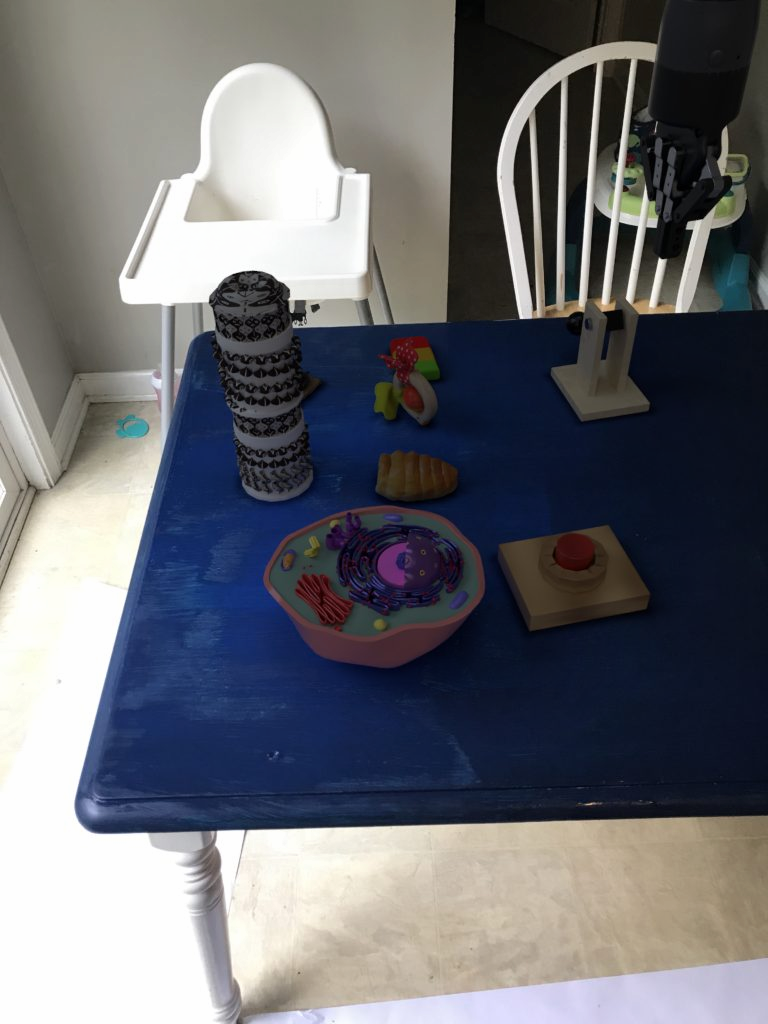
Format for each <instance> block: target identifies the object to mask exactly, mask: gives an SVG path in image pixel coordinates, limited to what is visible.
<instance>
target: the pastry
mask: <svg viewBox="0 0 768 1024" xmlns="http://www.w3.org/2000/svg"><path fill="white" fill-rule="evenodd" d="M377 466H378V467H377V468H378V469H377V470H378V471H377V481H376V485H375V490H374V491H375V492H376V493H377V494H378V495H380V496H382V497H384V498H385V499H387V500H389V501H393V502H396V501H402V502H406V503H407V502H408V503H409V502H416V501H426V500H435V499H440V498H442V497H445V496H446V495H449V494H452V493H453V492H454V491H455V490H456V489H457V488H458V482H459V481H458V475H459V474H458V473H459V470H458V469H457V468H456V467H454V466H453V465H452V464H450V463H448V462H447V461H443V459H441V458H439V457H431V456H430V455H429V454H428V453H426V454H421V453H418V452H416V451H414V450H410V451H408V452H404V451H403V450H400V449H396V450H395V451H393V452H392V453H391V454H389V453H386V452H382V453H381V454H380V456H379V459H378V465H377Z"/></svg>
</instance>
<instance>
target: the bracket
mask: <svg viewBox="0 0 768 1024" xmlns="http://www.w3.org/2000/svg"><path fill="white" fill-rule="evenodd" d="M619 309H622V311H623V325H624V329H622V330H615V331H610V332H609V333H610V334H609V340H608V345H607V352H606V356H605V359H602V354H603V347H604V341H605V336H606V335H605V334H606V332H605V330H606V323H607V317H606V316H605V315H604V313H603V311H602V310H601V309H600V307H599V306H598V305H597V304H596V302H595V301H594V300H591V301H590V300H589V301H585V304H584V311H583V312H584V318H583V325H582V332H581V335H580V339H579V347H578V355H577V362H576V363H574V364H567V365H561V366H554V367H551V370H550V377H551V378H552V380H553V381H554V382H555V384H556V385H557V387H558V388H559V390H560V391H561V393H562V394H563V396H564V398H565V399H566V400H567V402H568V404H569V405H570V406H571V408H572V410H573V412H575V414H576V415H577V417H578V418H579V420H580V422H588V421H594V420H601V419H607V418H613V417H618V416H625V415H633V414H639V413H644V412H649V410H650V407H651V406H650V405H651V403H650V401H649V400H648V399H647V397H646V396H645V395H644V394H643V392H642V391H641V390H640V389H639V387H638V386H637V384H635V382H634V381H633V379H632V378H631V377H630V376H629V369H630V363H631V358H632V353H633V347H634V342H635V337H636V331H637V327H638V321H639V316H640V313H639V312H638V310H637V309H636V308H635V307H634V306H633V305H632V304H631V303H630V302H629V301H628V300H627V298H626V297H625V296H618V297H616V298H615V304H614V309H613V310H619Z"/></svg>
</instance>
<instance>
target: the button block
mask: <svg viewBox="0 0 768 1024" xmlns="http://www.w3.org/2000/svg"><path fill="white" fill-rule="evenodd" d="M570 533H576V534H581V535H584V536H586V537H588V538H589V539H590V540H591V541H592V542H593V544H594V547H595V550H594V555H593V561H592V564H591V565H590V567H588V568H587V569H585V570H582V571H572V570H567V569H564V568H562V567H561V566H560V565H559V564H558V563H557V561H556V559H555V553H556V547H557V542H558V540H559V539H560V538H561V537H562V536H563V535H566V534H570ZM497 549H498V551H497V561H498V563H499V566H500V568H501V570H502V572H503V575H504V577H505V579H506V582H507V584H508V587H509V589H510V590H511V593H512V595H513V597H514V600H515V602H516V604H517V606H518V610H519V611H520V613H521V615H522V618H523V620H524V622H525V625H526V628H527V629H528V631H529V632H534V631H538V630H545V629H549V628H555V627H561V626H565V625H569V624H575V623H580V622H586V621H591V620H597V619H602V618H607V617H611V616H616V615H617V616H618V615H621V614H626V613H632V612H637V611H643V610H647V608H648V604H649V600H650V597H651V593H650V591H649V590H648V588H647V586H646V584H645V583H644V581H643V579H642V577H641V576H640V574H639V573H638V571H637V569H636V568H635V566H634V564H633V563H632V561H631V559H630V558H629V556H628V555H627V553H626V551H625V550H624V547H623V546H622V544H621V543H620V542H619V539H618V538H617V536H616V535H615V533H614V532H613V530H612V528H611V527H610V525H609V524H606V525H602V526H595V527H590V528H584V529H578V530H572V531H567V532H562V533H557V534H551V535H550V534H549V535H545V536H537V537H534V538H527V539H522V540H516V541H511V542H510V541H509V542H505V543H500V544H499V543H498V548H497Z"/></svg>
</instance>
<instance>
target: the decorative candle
mask: <svg viewBox="0 0 768 1024" xmlns="http://www.w3.org/2000/svg"><path fill="white" fill-rule="evenodd" d="M290 298H291V289H290V288H289V287H288V285H286V284H285V282H282V281H280V280H278V279H277V278H276V277H275V276H274V275H273V274H271V273H268V272H266V271H263V270H242V271H239V272H235V273H232V274H230V275H228V276H226V277H225V278H223V279H222V280H221V281H220V282H219V284H218V285H217V286H216V287H215V289H214V290H213V291H212V292H211V293H210V294H209V297H208V305H209V306H210V307H211V309H212V314H213V318H214V324H215V325H214V332H213V333H212V334H210V338H211V339H212V340H211V341H210V345H211V346H212V349H213V351H212V354H211V355H212V357H213V358H214V359H216V360H217V361H216V366H217V367H218V368H217V374H218V375H219V377H220V378H221V379H220V381H219V385H220V387H222V388H224V389H223V393H224V395H225V396H224V402H225V403H226V405H227V406H228V407H229V409H230V411H231V412H232V416H233V420H232V421H233V423H232V425H233V431H232V434H233V438H232V442H233V444H234V445H235V447H236V449H235V450H234V453H235V455H237V457H236V458H237V462H236V464H237V468H239V472H238V473H239V477H240V479H241V484H242V487H243V489H244V490H245V492H246V493H247V495H250V496H251V497H252V498H254V499H256V500H260V501H265V502H272V503H273V502H283V501H288V500H290V499H293V498H296V497H298V496H301V494H303V493H304V492H305V491H307V490H308V489H309V487H310V486H311V484H312V483H313V480H314V471H313V469H314V467H313V465H311V464H310V463H312V462H313V457H312V456H313V455H311V454H309V453H311V451H312V448H311V442H310V441H309V440H310V433H309V431H308V429H309V424H308V422H305V415H304V409H302V405H301V403H302V401H301V399H302V397H303V390H304V385H303V384H304V381H303V379H301V378H302V376H303V367H302V366H301V365H300V363H302V362H303V356H302V355H303V351H302V350H301V349H300V348H301V347H302V341H301V339H300V336H298V335H296V334H295V333H294V325H293V317H292V315H291V314H290V307H289V306H290V305H289V299H290ZM300 401H301V403H300Z"/></svg>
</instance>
